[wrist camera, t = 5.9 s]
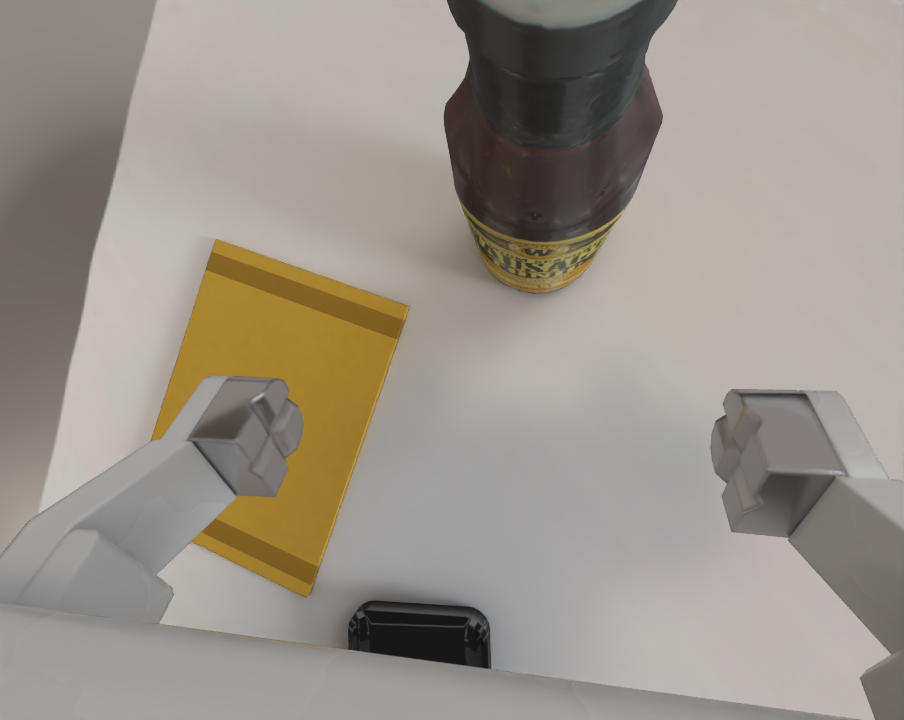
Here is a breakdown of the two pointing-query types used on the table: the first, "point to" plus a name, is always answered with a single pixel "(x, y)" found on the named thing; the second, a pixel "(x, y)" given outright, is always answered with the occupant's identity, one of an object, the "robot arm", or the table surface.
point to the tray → (311, 387)
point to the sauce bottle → (551, 129)
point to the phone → (422, 632)
